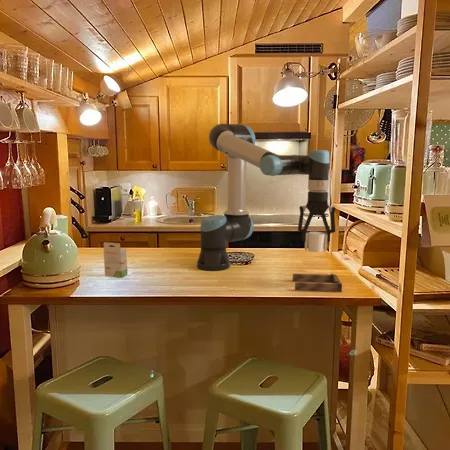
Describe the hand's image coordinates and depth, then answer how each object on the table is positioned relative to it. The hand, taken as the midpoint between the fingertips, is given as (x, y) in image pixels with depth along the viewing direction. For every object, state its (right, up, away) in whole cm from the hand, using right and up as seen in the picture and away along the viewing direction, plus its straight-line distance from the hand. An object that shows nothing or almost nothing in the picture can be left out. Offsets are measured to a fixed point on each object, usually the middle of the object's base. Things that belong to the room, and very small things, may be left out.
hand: (315, 249), depth 166 cm
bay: (0, -15, +3) cm, 15 cm away
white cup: (0, 0, 0) cm, 1 cm away
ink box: (-82, -12, +16) cm, 85 cm away
